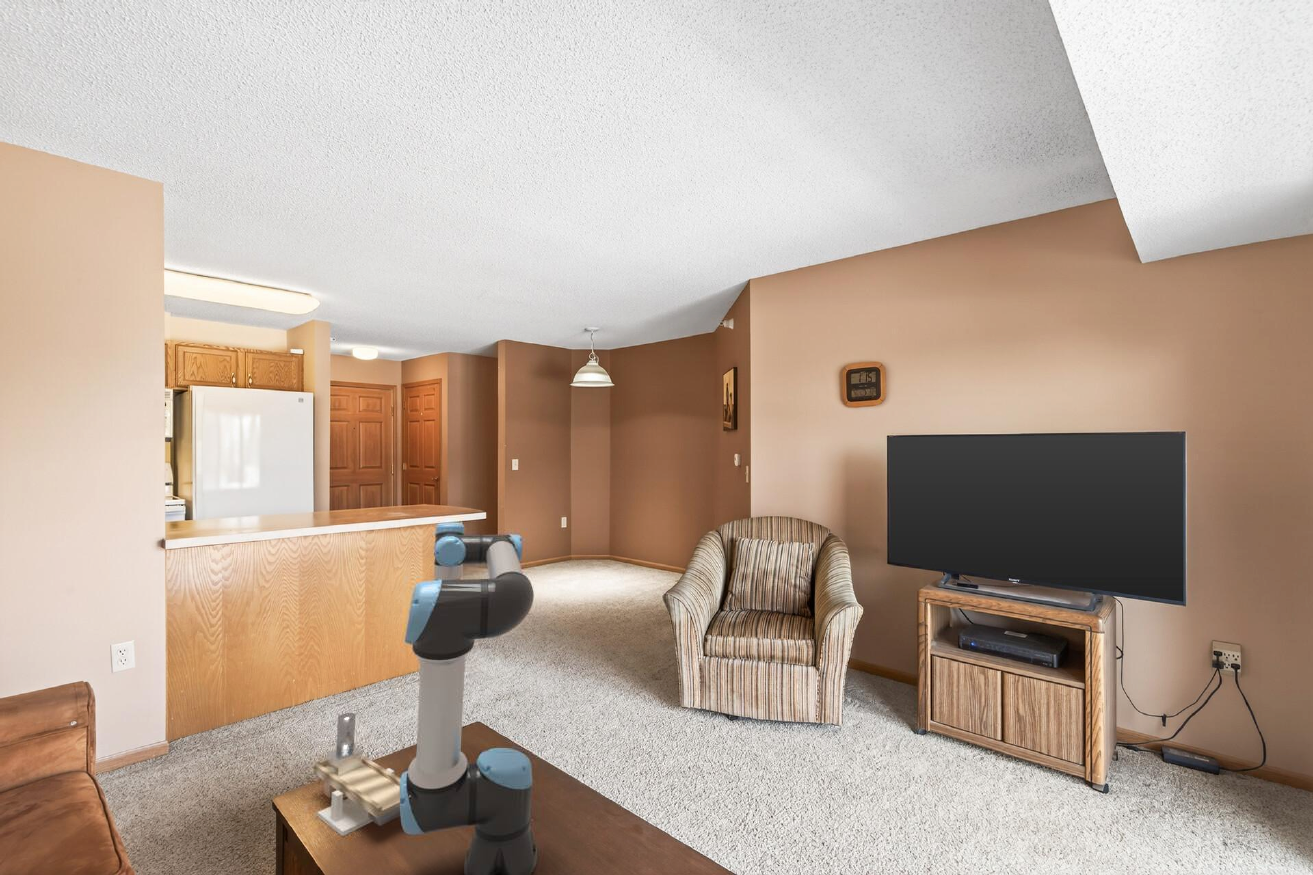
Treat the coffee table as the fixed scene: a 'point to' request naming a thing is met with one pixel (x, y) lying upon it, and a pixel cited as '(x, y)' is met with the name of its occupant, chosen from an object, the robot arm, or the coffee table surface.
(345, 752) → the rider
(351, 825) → the stand
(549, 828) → the coffee table surface
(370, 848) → the coffee table surface
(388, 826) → the coffee table surface
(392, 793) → the beam
